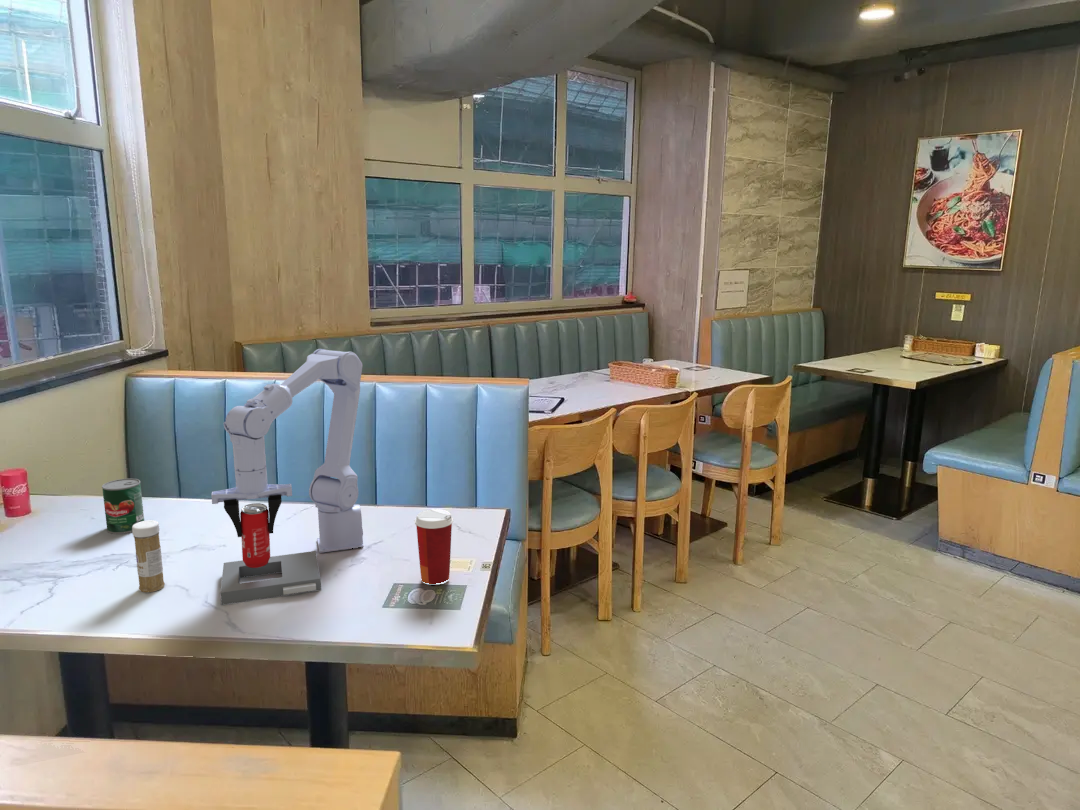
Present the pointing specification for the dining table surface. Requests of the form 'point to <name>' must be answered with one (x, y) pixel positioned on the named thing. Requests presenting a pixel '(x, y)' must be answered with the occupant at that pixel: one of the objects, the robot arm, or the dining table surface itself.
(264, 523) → the red soda can
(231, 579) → the grey tray with recess
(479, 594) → the dining table surface
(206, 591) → the dining table surface
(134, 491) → the canned tomato
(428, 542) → the paper cup
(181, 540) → the dining table surface
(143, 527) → the sprinkles bottle
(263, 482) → the robot arm
